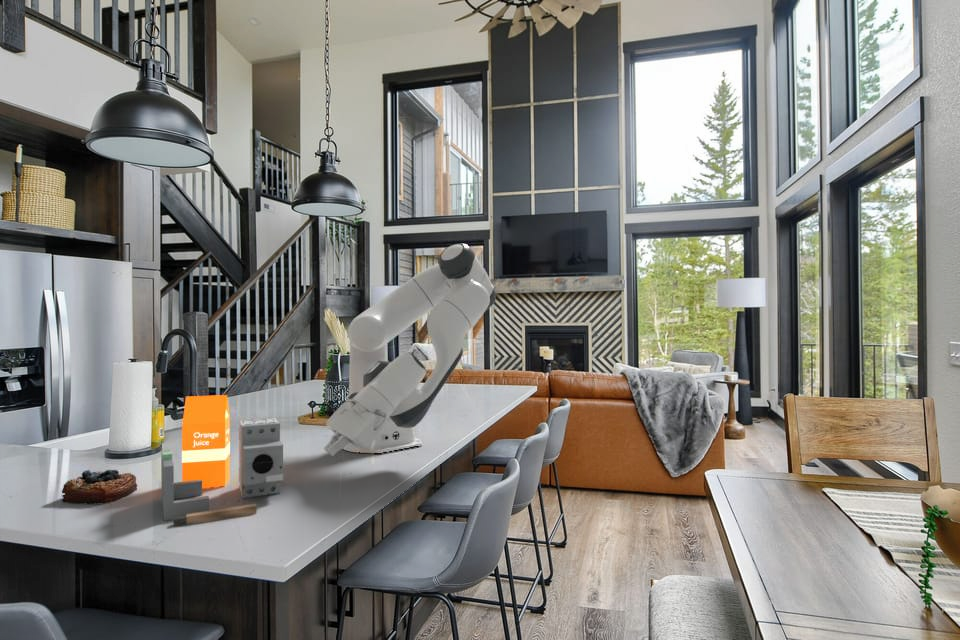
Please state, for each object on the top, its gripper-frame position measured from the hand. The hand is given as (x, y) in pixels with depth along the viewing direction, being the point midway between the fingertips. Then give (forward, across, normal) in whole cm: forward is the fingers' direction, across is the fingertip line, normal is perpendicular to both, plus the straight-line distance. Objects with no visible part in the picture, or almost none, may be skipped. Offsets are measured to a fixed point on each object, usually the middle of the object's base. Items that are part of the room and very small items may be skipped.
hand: (327, 452), depth 128 cm
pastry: (+38, +19, +22) cm, 47 cm away
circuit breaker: (+16, +1, +4) cm, 16 cm away
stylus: (+22, -10, +10) cm, 26 cm away
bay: (+26, +2, +13) cm, 29 cm away
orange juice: (+22, +16, +9) cm, 29 cm away
